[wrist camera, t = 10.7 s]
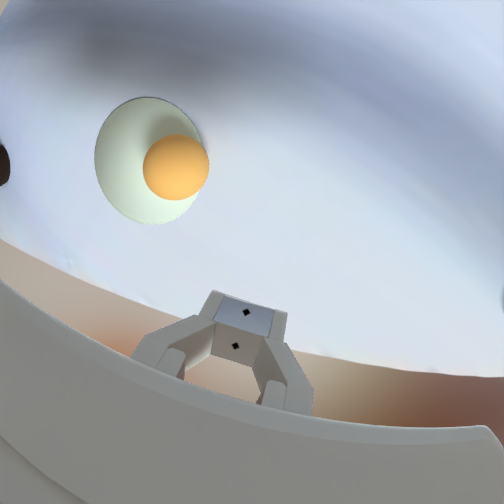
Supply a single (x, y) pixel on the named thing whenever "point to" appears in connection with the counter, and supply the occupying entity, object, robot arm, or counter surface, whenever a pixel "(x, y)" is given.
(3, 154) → the coffee mug
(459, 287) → the counter surface
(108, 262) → the counter surface
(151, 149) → the ball
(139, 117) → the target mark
